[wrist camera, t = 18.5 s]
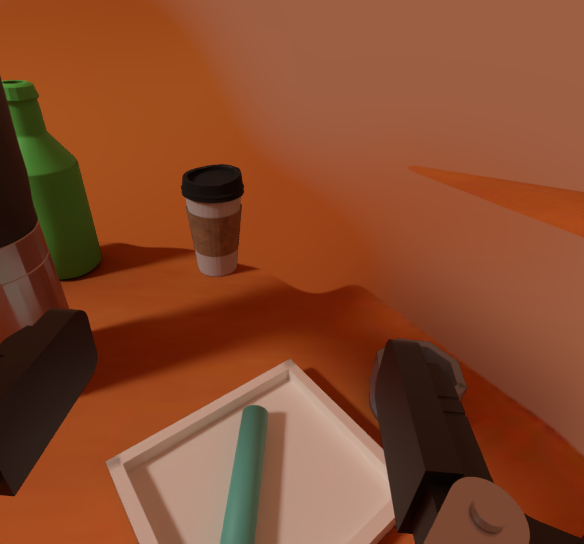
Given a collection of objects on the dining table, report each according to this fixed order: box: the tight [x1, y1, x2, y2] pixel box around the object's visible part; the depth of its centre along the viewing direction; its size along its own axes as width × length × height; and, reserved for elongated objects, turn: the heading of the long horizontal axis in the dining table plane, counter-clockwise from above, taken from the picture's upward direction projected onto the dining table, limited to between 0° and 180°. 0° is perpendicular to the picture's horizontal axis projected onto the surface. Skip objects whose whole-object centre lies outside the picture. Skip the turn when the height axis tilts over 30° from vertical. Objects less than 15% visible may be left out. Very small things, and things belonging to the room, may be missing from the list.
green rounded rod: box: [220, 405, 268, 544], centre depth 30 cm, size 2×2×14 cm
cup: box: [369, 338, 467, 420], centre depth 39 cm, size 8×8×6 cm
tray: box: [106, 359, 396, 544], centre depth 32 cm, size 17×19×2 cm
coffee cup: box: [181, 164, 244, 277], centre depth 56 cm, size 8×8×15 cm
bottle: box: [2, 80, 102, 280], centre depth 51 cm, size 9×9×25 cm
